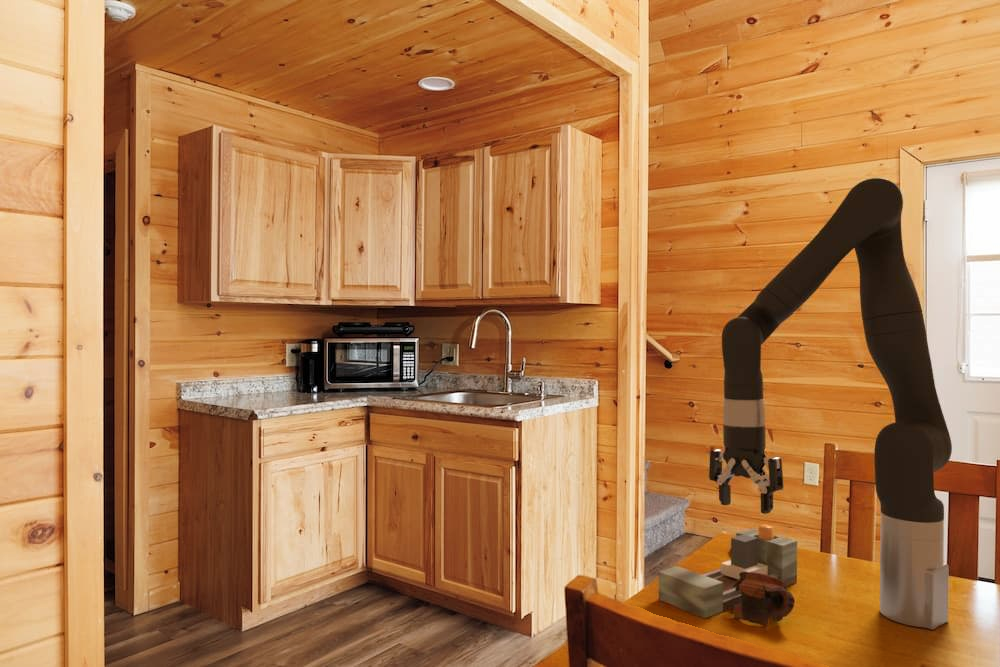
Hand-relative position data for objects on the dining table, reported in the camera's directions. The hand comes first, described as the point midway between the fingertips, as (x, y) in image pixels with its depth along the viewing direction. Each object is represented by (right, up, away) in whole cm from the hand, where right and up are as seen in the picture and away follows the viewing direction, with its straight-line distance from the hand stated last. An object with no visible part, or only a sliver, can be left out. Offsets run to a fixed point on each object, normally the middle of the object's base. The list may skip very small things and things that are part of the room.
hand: (745, 508), depth 130 cm
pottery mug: (-2, -15, -13) cm, 20 cm away
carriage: (0, -13, +1) cm, 13 cm away
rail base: (-4, -15, -2) cm, 15 cm away
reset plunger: (+6, -11, +5) cm, 13 cm away
